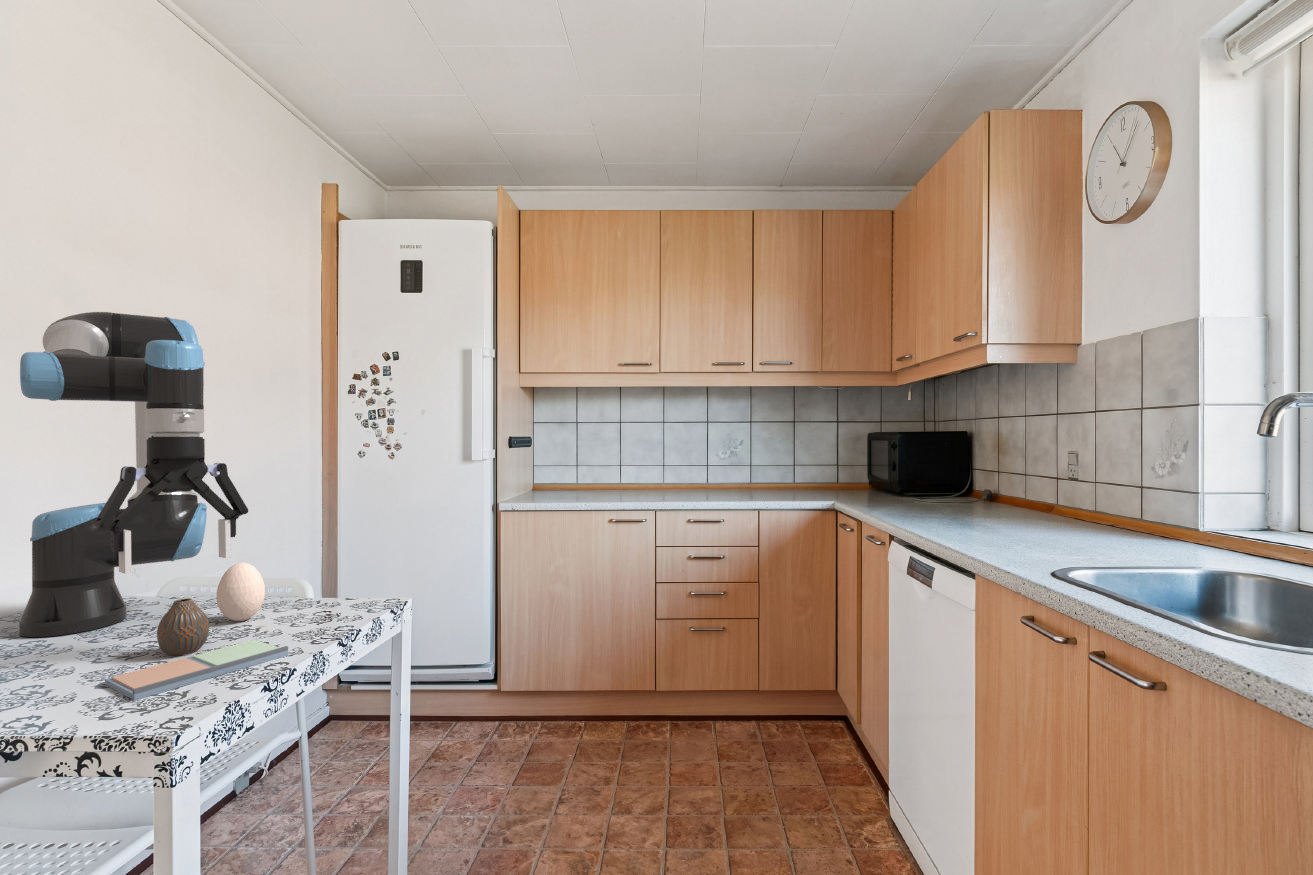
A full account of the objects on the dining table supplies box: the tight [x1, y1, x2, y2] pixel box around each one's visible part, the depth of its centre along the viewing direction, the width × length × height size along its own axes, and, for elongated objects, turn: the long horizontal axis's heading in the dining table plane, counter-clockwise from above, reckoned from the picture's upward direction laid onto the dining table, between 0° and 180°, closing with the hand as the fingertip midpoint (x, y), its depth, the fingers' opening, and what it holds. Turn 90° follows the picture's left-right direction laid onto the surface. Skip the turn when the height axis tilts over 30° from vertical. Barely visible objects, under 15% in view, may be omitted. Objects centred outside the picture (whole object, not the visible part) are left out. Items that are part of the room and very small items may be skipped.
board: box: [104, 639, 289, 701], centre depth 94 cm, size 11×20×1 cm, turn 148°
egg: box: [215, 562, 266, 622], centre depth 120 cm, size 8×8×11 cm
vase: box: [156, 597, 210, 657], centre depth 102 cm, size 7×7×9 cm
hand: (177, 564), depth 100 cm, fingers open, 13 cm apart
